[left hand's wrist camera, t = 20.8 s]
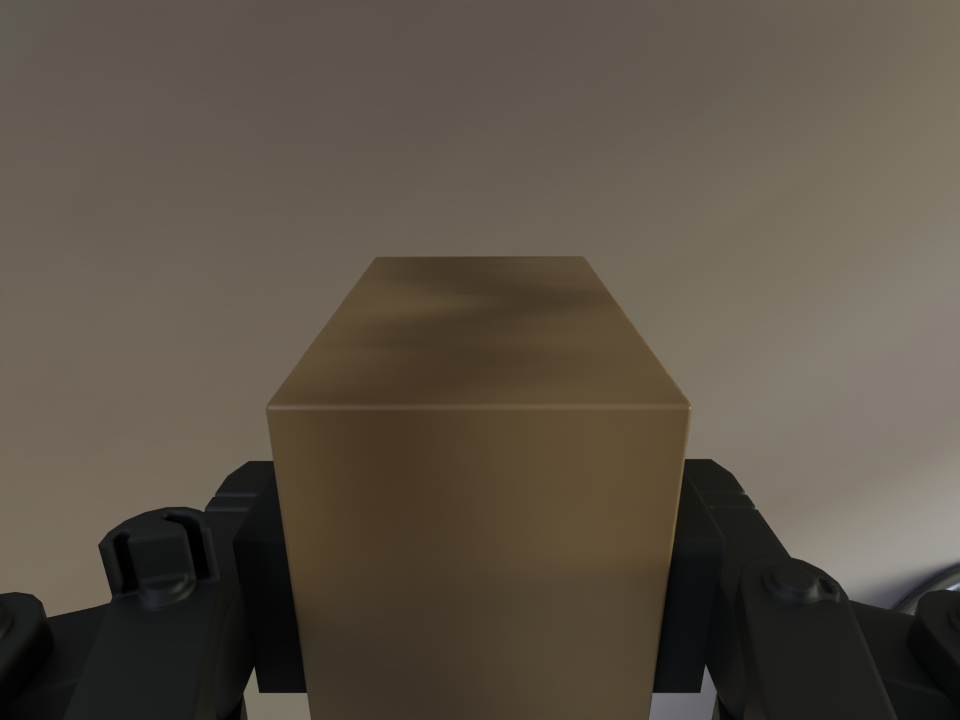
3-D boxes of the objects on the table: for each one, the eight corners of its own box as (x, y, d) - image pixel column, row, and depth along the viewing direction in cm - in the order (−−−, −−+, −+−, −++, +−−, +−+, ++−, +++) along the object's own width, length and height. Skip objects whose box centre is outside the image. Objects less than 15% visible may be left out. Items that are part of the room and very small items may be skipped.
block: (584, 255, 15) (694, 406, 7) (569, 497, 17) (640, 796, 10) (375, 256, 15) (262, 405, 7) (390, 497, 17) (319, 796, 10)
